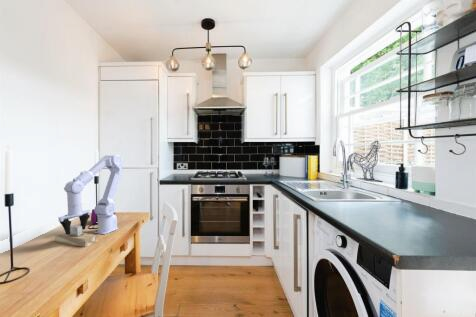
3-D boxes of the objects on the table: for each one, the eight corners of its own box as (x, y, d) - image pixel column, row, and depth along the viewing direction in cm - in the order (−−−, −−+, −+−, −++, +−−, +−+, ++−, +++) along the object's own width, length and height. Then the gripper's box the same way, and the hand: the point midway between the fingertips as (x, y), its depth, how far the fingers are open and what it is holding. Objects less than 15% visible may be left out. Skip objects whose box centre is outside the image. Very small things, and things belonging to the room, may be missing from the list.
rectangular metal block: (74, 240, 121) (73, 224, 120) (82, 241, 118) (81, 226, 118) (69, 242, 118) (69, 226, 118) (77, 243, 116) (77, 227, 116)
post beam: (68, 237, 125) (67, 230, 125) (97, 241, 118) (97, 235, 117) (55, 241, 119) (54, 234, 119) (85, 246, 112) (85, 239, 111)
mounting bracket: (101, 227, 160) (89, 222, 144) (102, 214, 164) (92, 209, 147) (115, 226, 162) (106, 221, 146) (117, 213, 165) (108, 208, 149)
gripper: (83, 201, 126) (84, 226, 126) (53, 207, 113) (55, 235, 113) (92, 202, 124) (93, 227, 124) (63, 208, 110) (64, 237, 110)
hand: (75, 231), depth 118 cm, fingers open, 7 cm apart
